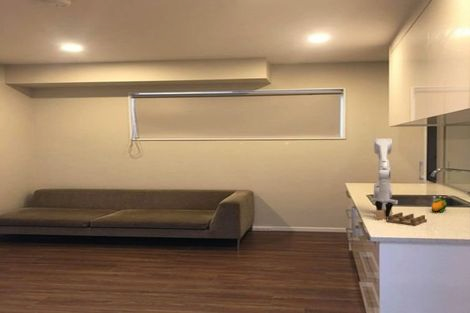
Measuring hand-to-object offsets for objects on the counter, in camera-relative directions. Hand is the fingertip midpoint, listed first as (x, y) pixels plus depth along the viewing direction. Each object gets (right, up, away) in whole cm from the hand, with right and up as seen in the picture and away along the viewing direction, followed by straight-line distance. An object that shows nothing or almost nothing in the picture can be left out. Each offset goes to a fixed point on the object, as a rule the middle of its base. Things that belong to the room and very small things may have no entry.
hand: (383, 215), depth 239 cm
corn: (+40, -1, +21) cm, 45 cm away
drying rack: (+9, -2, -10) cm, 13 cm away
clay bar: (0, -2, 0) cm, 2 cm away
